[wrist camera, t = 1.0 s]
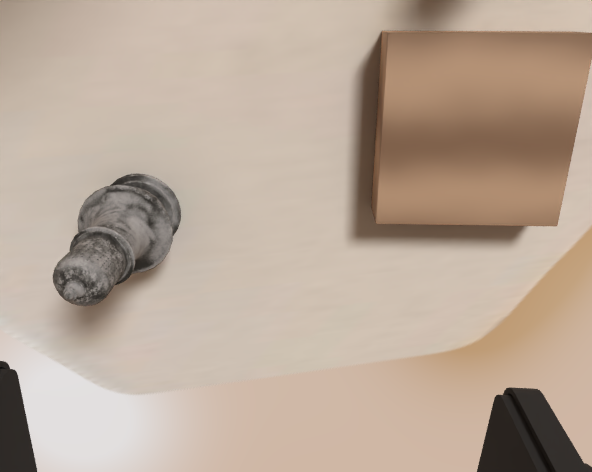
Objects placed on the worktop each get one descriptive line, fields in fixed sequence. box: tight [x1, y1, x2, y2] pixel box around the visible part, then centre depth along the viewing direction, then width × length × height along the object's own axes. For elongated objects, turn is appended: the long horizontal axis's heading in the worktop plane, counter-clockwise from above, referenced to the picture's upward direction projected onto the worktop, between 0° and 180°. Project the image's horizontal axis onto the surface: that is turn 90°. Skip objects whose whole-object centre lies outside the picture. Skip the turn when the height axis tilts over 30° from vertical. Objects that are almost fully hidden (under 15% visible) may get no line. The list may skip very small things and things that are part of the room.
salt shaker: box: [53, 174, 181, 306], centre depth 31 cm, size 6×6×12 cm
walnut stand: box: [371, 31, 592, 226], centre depth 32 cm, size 11×11×3 cm
